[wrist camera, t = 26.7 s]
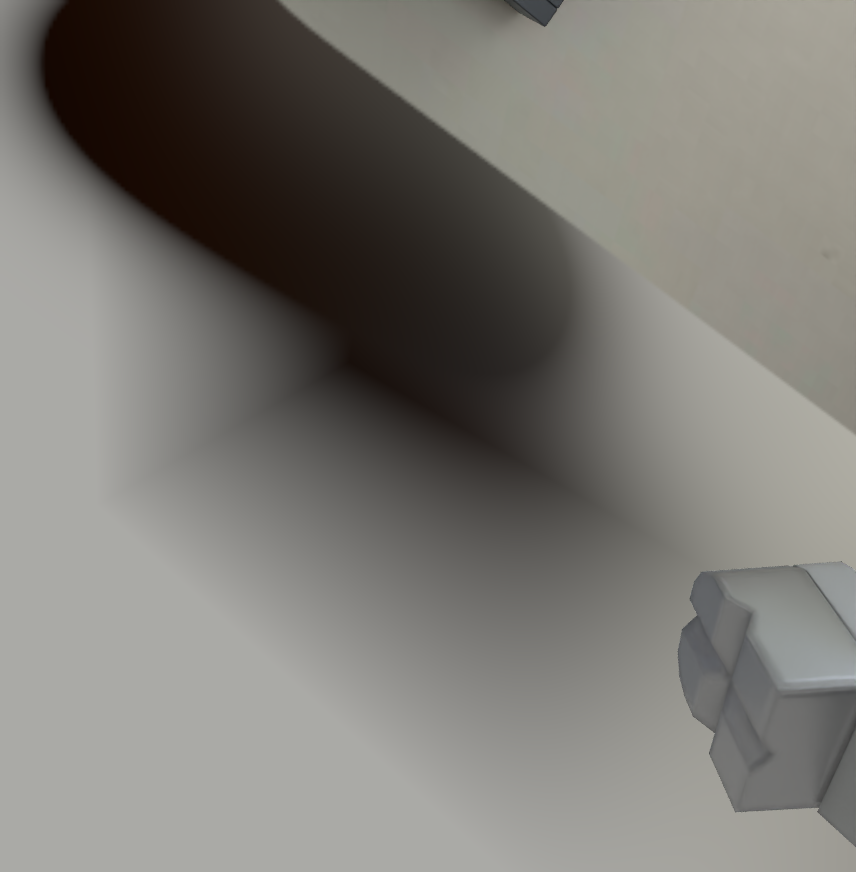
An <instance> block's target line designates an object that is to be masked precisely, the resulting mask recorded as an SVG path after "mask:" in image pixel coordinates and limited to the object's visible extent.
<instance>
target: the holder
mask: <svg viewBox="0 0 856 872" xmlns="http://www.w3.org/2000/svg"><path fill="white" fill-rule="evenodd" d="M505 1H506V2H507V3H508V4H509V5H511V6H512V7H513V8H514V9H515V10H517V11H518V12H519V13H521V14H523V15H524V16H526V17H528V18H530V19H532V20H533V21H535V22H537V23H539V24H540V25H542V26H544V27H545V26H546V25H547V24H548V22H549V21H550V20H551V18H552V17H553V15H554V14H555V12H556V11H557V8H559V7H560V5H561V4H562V2H563V1H564V0H505Z"/></svg>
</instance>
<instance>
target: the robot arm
mask: <svg viewBox="0 0 856 872" xmlns="http://www.w3.org/2000/svg"><path fill="white" fill-rule="evenodd" d="M690 601H691V603H692V605H693V607H694V609H695V611H696V613H697V616H696V617H695V618H694V619H693V620H692V621H690V622H689V623H688V624H687V625H686V626H685V627H684V628H683V629H682V633H681V638H680V643H679V648H678V661H679V662H678V663H679V677H680V681H681V684H682V688H683V692H684V696H685V698H686V701H687V703H688V705H689V708H690V710H691V713H692V715H693V717H694V718H696V719H697V720H698V721H700V722H701V723H702V724H704V725H705V726H706V727H708V728H709V729H710V730H712V731H713V732H714V733H715V735H714V738H713V742H712V745H711V749H710V752H709V754H710V757H711V759H712V761H713V763H714V766H715V768H716V770H717V772H718V775H719V777H720V779H721V781H722V784H723V786H724V788H725V790H726V793H727V795H728V797H729V799H730V801H731V804H732V806H733V808H734V810H735V812H747V811H765V810H782V809H800V808H819V809H818V811H817V812H818V813H819V814H820V815H821V816H822V817H824V818H825V819H826V820H827V821H828V822H829V823H830V824H831V825H832V826H833V827H834V828H835V829H837V830H838V831H839V832H840V833H841V834H842V835H843V836H844V837H845V838H846V839H848V840H849V841H850V842H851V843H852V844H853V845H854V846H855V847H856V571H855V570H854V569H853V568H852V567H850V566H848V565H847V564H845V563H843V562H842V561H841V562H827V563H814V564H800V565H794V566H777V567H776V566H775V567H762V568H748V569H734V570H720V571H706V572H701V573H700V575H699V576H698V577H697V579H696V580H695V581H694V584H693V588H692V592H691V596H690Z"/></svg>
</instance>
